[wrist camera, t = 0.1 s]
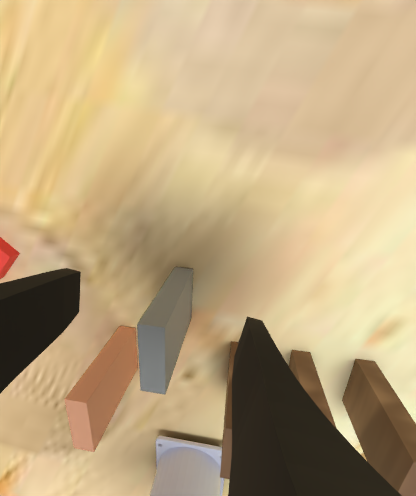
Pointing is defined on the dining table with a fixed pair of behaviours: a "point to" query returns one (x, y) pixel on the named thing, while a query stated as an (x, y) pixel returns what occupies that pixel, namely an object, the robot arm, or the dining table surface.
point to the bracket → (6, 257)
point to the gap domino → (164, 330)
